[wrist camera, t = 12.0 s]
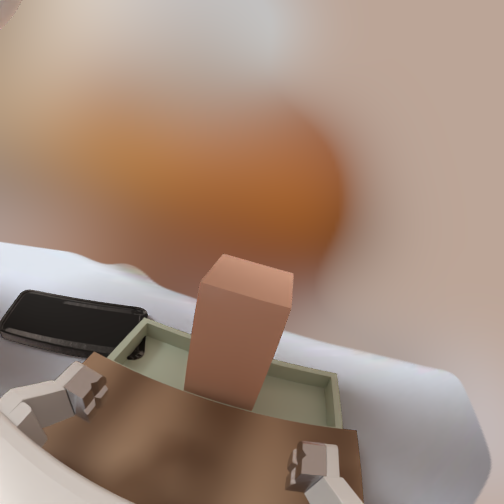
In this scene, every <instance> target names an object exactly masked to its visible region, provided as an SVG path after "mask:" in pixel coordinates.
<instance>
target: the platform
mask: <svg viewBox="0 0 504 504" xmlns="http://www.w3.org/2000/svg"><path fill="white" fill-rule="evenodd" d="M82 364H83V365H85V366H87V367H88V368H90V369H92V370H94V371H96V372H97V373H99V374H101V375H103V376H105V377H106V380H107V383H106V384H105V385H106V387H107V388H108V392H109V394H108V399H107V401H106V403H105V405H104V406H103V407H102V408H98V409H97V412H98V414H97V415H96V417H95V418H94V419H93V421H92V422H91V423H88V422H87V421H85V420H83V419H81V418H80V417H78V416H76V415H75V416H73V417H70V418H68V419H65V420H63V421H60V422H58V423H55V424H52V425H50V426H47V427H45V428H42V429H43V431H44V432H45V434H46V436H47V439H48V440H47V441H46V442H45V444H44V445H43V446H42V448H43V449H44V450H45V451H47V452H48V453H49V454H51V455H52V456H53V457H55V458H56V459H58V460H59V461H61V462H62V463H63V464H65V465H66V466H68V467H69V468H71V469H72V470H74V471H76V472H77V473H79V474H80V475H82V476H84V477H85V478H87V479H89V480H90V481H92V482H94V483H96V484H97V485H99V486H101V487H103V488H105V489H107V490H108V491H110V492H112V493H114V494H116V495H118V496H120V497H122V498H125V499H127V500H129V501H131V502H133V503H135V504H310V503H309V501H308V499H307V498H306V496H305V494H304V492H296V491H288V490H285V483H286V477H287V476H288V475H289V473H290V472H289V471H288V469H287V464H288V459H289V457H290V454H291V452H292V451H293V450H294V449H297V444H298V443H299V442H300V441H308V442H316V443H324V444H333V445H337V447H338V456H339V474H340V477H342V478H344V480H345V481H346V482H347V483H348V485H349V486H350V487H351V488H352V490H353V491H354V492H355V494H356V495H357V496H358V497H359V498H360V500H361V501H362V502H363V503H364V500H363V486H362V475H361V464H360V455H359V446H358V438H357V430H348V429H339V428H331V427H324V426H317V425H311V424H305V423H299V422H294V421H289V420H284V419H279V418H274V417H270V416H265V415H261V414H257V413H253V412H249V411H245V410H242V409H238V408H234V407H231V406H227V405H224V404H221V403H217V402H214V401H211V400H208V399H205V398H202V397H199V396H196V395H193V394H190V393H187V392H185V391H182V390H179V389H176V388H174V387H171V386H169V385H166V384H163V383H161V382H159V381H156V380H154V379H151V378H149V377H147V376H144V375H142V374H140V373H137V372H135V371H133V370H131V369H129V368H126V367H124V366H122V365H120V364H118V363H116V362H114V361H112V360H110V359H108V358H106V357H104V356H102V355H100V354H98V353H96V352H93V353H92V354H91V355H90V356H89V357H88V358H87V359H86V360H85V361H84V362H83V363H82Z"/></svg>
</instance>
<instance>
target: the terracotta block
mask: <svg viewBox="0 0 504 504" xmlns="http://www.w3.org/2000/svg"><path fill="white" fill-rule="evenodd" d="M292 290H293V273H289V272H286V271H282V270H279V269H275V268H271V267H268V266H265V265H261V264H257V263H254V262H250V261H247V260H243V259H240V258H236V257H233V256H229V255H226V254H223V255H222V256H221V257H220V259H219V260H218V261H217V262H216V263H215V265H214V266H213V267H212V268H211V269H210V271H209V272H208V273H207V274H206V276H205V277H204V278H203V279H202V280H201V281H200V286H199V291H198V297H197V303H196V309H195V315H194V321H193V327H192V334H191V340H190V347H189V354H188V361H187V368H186V375H185V383H184V391H187V392H190V393H193V394H196V395H199V396H202V397H205V398H208V399H211V400H214V401H217V402H220V403H224V404H227V405H231V406H234V407H238V408H241V409H245V410H249V411H252V409H253V407H254V404H255V402H256V400H257V397H258V395H259V392H260V390H261V387H262V385H263V382H264V380H265V377H266V375H267V372H268V370H269V367H270V365H271V362H272V360H273V357H274V354H275V352H276V349H277V346H278V344H279V341H280V338H281V336H282V333H283V330H284V328H285V325H286V322H287V319H288V316H289V314H290V311H291V305H292Z"/></svg>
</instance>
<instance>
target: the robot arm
mask: <svg viewBox="0 0 504 504" xmlns="http://www.w3.org/2000/svg"><path fill="white" fill-rule="evenodd" d="M21 1H22V0H0V30H1V29H2V28H3V27H4V26H5V25H6V24H7V22H8V21H9V20H10V19H11V18H12V16H13V15H14V14H15V12H16V10H17V9H18V7H19V5H20V4H21ZM106 383H107V380H106V377H105V376H103V375H101V374H99V373H97V372H96V371H94V370H92V369H90V368H88V367H87V366H85V365H83V364H82V363H80V362H78V361H76V362H73V363H72V364H71V365H70V366H69V367H68V368H67V369H66V370H65V371H64V372H63V373H62V374H61V375H60V376H59V377H58V378H57V379H56V380H55V381H53V380H50V381H45V382H41V383H36V384H32V385H27V386H22V387H17V388H12V389H10V390H9V391H8V392H7V393H5V394H4V395H3V396H2V397H1V398H0V504H135V503H133V502H131V501H129V500H127V499H125V498H122V497H120V496H118V495H116V494H114V493H112V492H110V491H108V490H107V489H105V488H103V487H101V486H99V485H97V484H96V483H94V482H92V481H90V480H89V479H87V478H85V477H84V476H82V475H80V474H79V473H77V472H76V471H74V470H72V469H71V468H69V467H68V466H66V465H65V464H63V463H62V462H61V461H59V460H58V459H56V458H55V457H53V456H52V455H51V454H49V453H48V452H47V451H45V450H44V449H43V448H42V446H43V445H44V444H45V442H46V441H47V440H48V439H47V436H46V434H45V432H44V431H43V429H42V428H45V427H47V426H50V425H52V424H55V423H58V422H60V421H63V420H65V419H68V418H70V417H73V416H75V415H76V416H78V417H80V418H81V419H83V420H85V421H87V422H88V423H91V422H92V421H93V419H94V418H95V417H96V415H97V414H98V412H97V409H98V408H102V407H103V406H104V405H105V403H106V401H107V399H108V394H109V392H108V388H107V387H106V385H105V384H106ZM287 469H288V471H289V472H290V473H289V475H288V476H287V477H286V483H285V490H288V491H296V492H304V494H305V496H306V498H307V499H308V501H309V503H310V504H364V503H363V502H362V501H361V500H360V498H359V497H358V496H357V495H356V494H355V492H354V491H353V490H352V488H351V487H350V486H349V485H348V483H347V482H346V481H345V480H344V478H342V477H340V474H339V456H338V447H337V445H333V444H324V443H316V442H308V441H300V442H299V443H298V444H297V449H294V450H293V451H292V452H291V454H290V457H289V459H288V464H287Z"/></svg>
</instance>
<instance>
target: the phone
mask: <svg viewBox="0 0 504 504" xmlns="http://www.w3.org/2000/svg"><path fill="white" fill-rule="evenodd" d="M144 317H145V318H147V317H148V314H147V311H146V310H144V309H143V308H140V307H133V306H125V305H118V304H111V303H104V302H97V301H91V300H84V299H78V298H72V297H67V296H61V295H56V294H50V293H45V292H40V291H35V290H25V291H23V292H21V293H20V295H19V296H18V297H17V299H16V300H15V301H14V303H13V304H12V305H11V307H10V308H9V309H8V311H7V312H6V314H5V315H4V316H3V318H2V319H1V321H0V334H1V336H2V337H3V338H5V339H8V340H11V341H14V342H18V343H21V344H25V345H29V346H33V347H37V348H41V349H45V350H49V351H54V352H58V353H63V354H68V355H73V356H78V357H84V358H88V357H89V356H90V355H91V354H92V353H93V352H96V353H98V354H100V355H102V356H104V357H106V358H107V357H108V356H109V355H110V354H111V353H112V351H113V350H114V349H115V348H116V347H117V346H118V345H119V344H120V343H121V342H122V341H123V340H124V339H125V337H126V336H127V335H128V334H129V333H130V332H131V331H132V330H133V329H134V328H135V327H136V326H137V325H138V324H139V323H140V322H141V320H142V319H143V318H144ZM145 341H146V336H145V337H144V338H143V339H142V341H141V343H140V344H139V345H138V346H137V347H136V348H135V350H134V351H133V352H132V353H131V354H130V356H128V357H127V359H128V360H137V359H140V358H141V357H143V355H144V353H145Z"/></svg>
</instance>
